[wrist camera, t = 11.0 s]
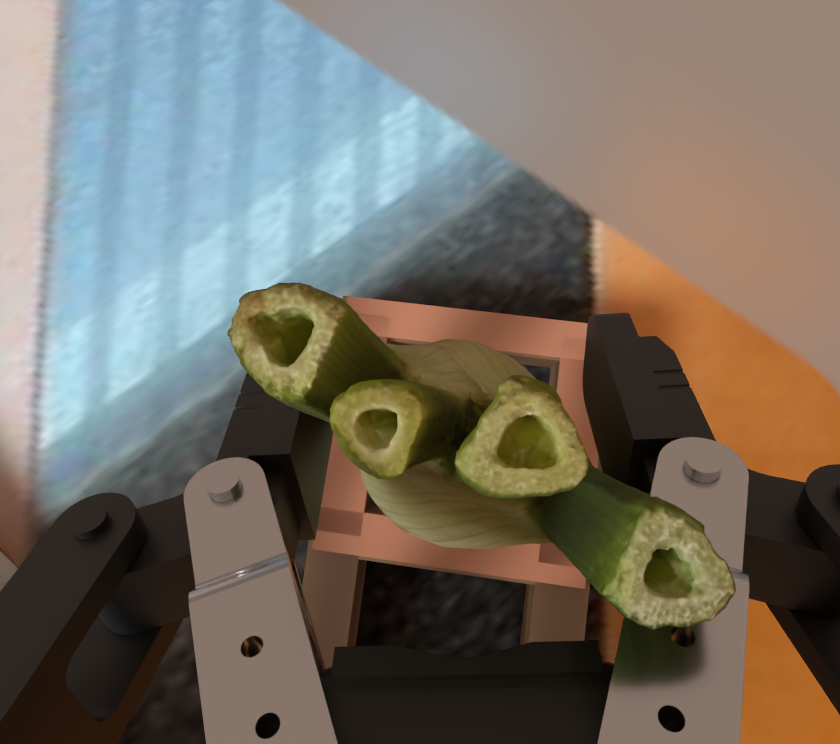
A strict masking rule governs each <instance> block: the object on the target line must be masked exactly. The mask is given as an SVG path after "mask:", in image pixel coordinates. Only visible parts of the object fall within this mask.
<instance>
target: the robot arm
mask: <svg viewBox="0 0 840 744" xmlns="http://www.w3.org/2000/svg"><path fill="white" fill-rule="evenodd" d="M682 370H683V369H682V367H681V365H680V363H679V361H678V359H677V356H676V354H675V352H674V351H673V350H672V349H671V348H669V347H668V346H667V345H666V344H665V343H664V342H662V341H661V340H660V339H659V338H658V337H657V336H649V337H639V336H638V334H637V331H636V329H635V327H634V324H633V322H632V319H631V317H630V315H629V314H628V313H616V314H598V315H590V316H589V319H588V325H587V335H586V345H585V355H584V366H583V396H584V402H585V407H586V410H587V414H588V418H589V422H590V425H591V429H592V433H593V437H594V441H595V444H596V448H597V452H598V456H599V460H600V463H601V467H602V471H603V473H604V474H607V475H608V476H610V477H612V478H614V479H616V480H618V481H620V482H622V483H623V484H626V485H628V486H630V487H633V488H637V489H638V490H639V491H642V492H645V493H647V494H649V495H651V496H652V497H655V496H656V497H659V498H661V499H662V500H665V501H667V502H669V503H671V504H674V505H676V506H677V507H679V508H681V509H682V510H684V511H685V512H686V513H688V514H689V515H691V516H692V517H694V518H695V519H696V520H698V521H699V522H701V523H702V524H703V525H704V527H705V529H704V532H705V535H706V537H707V538H708V539H709V541H710V542H711V544H712V546H713V549H714V550H715V551H716V552H717V554H718V555H719V556H720V557H721V558H723V559H724V560H725V561H726V562H727V563H728V566H729V569H730V571H731V573H732V577H733V579H734V582H735V586H736V592H735V594H734V595H733V597H732V598H731V599H730V601H729V603H728V605H727V607H726V608H725V609H724V610H723V611H721V612H720V613H719V614H718V615H717V616H716V617H715V618H714V619H713V620H711V621H705V622H702V623H699V624H695V625H692V626H690V627H675V626H669V625H668V626H664V627H661V628H658V629H654V630H653V629H649V628H647V627H645V626H642V625H639V624H638V623H636V622H635V621H633V620H630V619H628V618H626V617H625V616H624V621H623V625H622V630H621V635H620V639H619V644H618V649H617V654H616V658H615V663H614V664H613V663H609V662H605V661H601V656H600V652H599V647H598V642H597V640H588V641H548V642H529V643H526V644H522V645H519V646H515V647H512V648H508V649H505V650H501V651H498V652H494V653H491V654H487V655H484V656H481V657H477V658H474V659H469V660H459V659H454V658H450V657H446V656H442V655H437V654H433V653H429V652H425V651H420V650H416V649H412V648H408V647H403V646H399V645H387V646H347V647H335V648H334V656H333V664H332V667H330V668H327V669H326V667H325V664H324V661H323V658H322V654H321V651H320V648H319V644H318V641H317V638H316V634H315V631H314V627H313V624H312V620H311V617H310V613H309V610H308V606H307V603H306V599H305V596H304V592H303V589H302V585H301V582H300V578H299V575H298V571H297V568H296V565H295V562H294V559H295V554H296V549H297V544H298V540H315V538H316V532H317V527H318V521H319V515H320V509H321V503H322V497H323V491H324V485H325V479H326V474H327V468H328V462H329V456H330V450H331V444H332V438H333V431H332V428H331V423H329V422H326V421H324V420H322V419H319V418H317V417H314V416H312V415H309V414H306V413H303V412H301V411H299V410H297V409H295V408H293V407H290V406H287V405H286V404H284V403H283V402H281V401H279V400H277V399H276V398H274V397H272V396H270V395H268V394H266V393H265V391H264V389H263V388H262V387H261V386H260V385H259V384H258V383H257V382H256V381H255V380H254V379H253V377H251V376H250V375H249V374H248V373H247V374H246V377H245V380H244V383H243V386H242V388H241V395H239V397H238V400H237V403H236V405H235V407H236V409H235V410H234V411H233V414H232V417H231V420H230V423H229V425H228V428H227V431H226V434H225V437H224V440H223V443H222V445H221V448H220V451H219V454H218V457H217V460H216V462H213V463H211V464H209V465H207V466H205V467H204V468H202V469H201V470H200V471H198V472H197V473H196V474H195V475H194V476H193V477H192V478H191V480H190V481H189V483H188V484H187V486H186V489H185V492H184V494H181V495H179V496H177V497H174V498H171V499H168V500H165V501H161V502H158V503H154V504H151V505H148V506H144V507H141V508H138V509H136V507H135V506H134V504H133V502H132V501H131V500H130V499H129V498H128V497H126V496H124V495H122V494H118V493H102V494H97V495H93V496H90V497H87V498H85V499H83V500H81V501H79V502H77V503H76V504H74V505H72V506H71V507H70V508H68V509H67V510H66V511H65V512H64V513H62V514H61V515H60V516H59V518H58V519H57V520H56V521H55V522H54V524H53V525H52V526H51V527H50V529H49V530H48V531H47V533H46V534H45V535H44V536H43V538H42V539H41V540H40V541H39V543H38V544H37V545H36V547H35V548H34V549H33V550H32V552H31V553H30V554H29V555H28V557H27V558H26V559H25V561H24V562H23V563H22V564H21V566H20V567H19V568H18V569H17V571H16V572H15V573H14V575H13V576H12V577H11V578H10V580H9V581H8V582H7V583H6V585H5V586H4V587H3V589H2V590H1V591H0V744H117V743H118V741H119V739H120V737H121V735H122V734H123V732H124V730H125V728H126V726H127V724H128V722H129V720H130V718H131V717H132V715H133V713H134V711H135V709H136V707H137V705H138V703H139V701H140V700H141V698H142V696H143V694H144V692H145V690H146V688H147V686H148V684H149V683H150V681H151V679H152V677H153V675H154V673H155V671H156V669H157V667H158V666H159V664H160V662H161V660H162V658H163V656H164V654H165V652H166V650H167V649H168V647H169V645H170V643H171V641H172V639H173V637H174V635H175V633H176V632H177V630H178V628H179V626H180V624H181V622H182V620H183V618H186V617H189V616H190V618H191V626H192V634H193V642H194V650H195V658H196V666H197V674H198V682H199V690H200V698H201V706H202V714H203V722H204V730H205V738H206V744H740V733H741V716H742V700H743V683H744V667H745V651H746V634H747V618H748V601H749V598H750V599H754V600H758V601H762V602H765V603H766V604H767V606H768V607H769V609H770V610H771V612H772V613H773V615H774V616H775V618H776V619H777V621H778V622H779V624H780V625H781V627H782V628H783V630H784V631H785V633H786V634H787V636H788V637H789V639H790V641H791V642H792V644H793V645H794V647H795V648H796V650H797V651H798V653H799V654H800V656H801V657H802V659H803V660H804V662H805V663H806V665H807V666H808V668H809V669H810V671H811V672H812V674H813V675H814V677H815V678H816V680H817V681H818V683H819V684H820V686H821V687H822V689H823V690H824V692H825V693H826V695H827V696H828V698H829V699H830V701H831V702H832V704H833V705H834V707H835V708H836V710H837V711H838V713H839V714H840V465H827V466H823V467H820V468H818V469H816V470H814V471H813V472H812V473H811V474H810V475H809V477H808V478H807V480H806V483H804V482H799V481H794V480H789V479H784V478H779V477H774V476H769V475H765V474H761V473H758V472H755V471H752V470H750V469H748V468H747V466H746V465H745V463H744V461H743V460H742V459H741V457H740V456H739V455H738V454H737V453H735V452H734V451H733V450H731V449H730V448H729V447H727V446H725V445H723V444H721V443H719V442H716V440H715V438H714V436H713V434H712V432H711V430H710V427H709V425H708V423H707V421H706V419H705V417H704V414H703V412H702V410H701V408H700V406H699V404H698V402H697V399H696V397H695V395H694V393H693V391H692V389H691V388H690V387H689V382H688V380H687V378H686V376H685V374H684V373H683V372H682Z"/></svg>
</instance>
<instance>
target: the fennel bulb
mask: <svg viewBox="0 0 840 744" xmlns="http://www.w3.org/2000/svg"><path fill="white" fill-rule="evenodd" d="M239 302H240V305H239V307H238V309H237V311H236V313H235V315H234V316H233V318H232V326H231V328H230V329H229V331H228V336H229V337H230V340H231V344H232V346H233V347H234V349H235V352H236V354H237V355H238V357H239V359H240V363H241V365H242V366H243V367H244V369H245V370H246V371H247V372H248V374H249V375H250V376H251V377H253V379H254V380H255V381H256V382H257V383H258V384H259V385H260V386H261V387H262V388H263V389H264V391H265V393H266V394H268V395H270V396H272V397H274V398H276V399H277V400H279V401H281V402H283V403H284V404H286V405H287V406H290V407H293V408H295V409H297V410H299V411H301V412H303V413H306V414H309V415H312V416H314V417H317V418H319V419H322V420H324V421H326V422H329V423H331V428H332V431H333V432H334V434H335V437H336V439H337V441H338V444H339V446H340V447H341V449H342V451H343V452H344V453H345V454H346V456H347V457H348V458H349V460H350V461H351V462H352V463H353V464H354V465H355V466H357V467H358V468H359V469H360V472H361V477H362V480H363V484H364V486H365V487H366V489H367V491H368V493H369V495H370V496H371V498H372V500H373V501H374V502H375V503H376V505H377V506H378V507H379V508H380V509H381V510H382V512H383V513H384V514H385V515H386V516H387V517H388V518H389V519H390V521H391V522H392V523H394V524H395V525H396V526H397V527H399V528H400V529H401V530H403V531H404V532H406V533H408V534H410V535H413V536H415V537H418V538H420V539H423V540H425V541H427V542H431V543H433V544H436V545H439V546H443V547H450V548H462V549H467V548H470V549H491V548H499V547H507V546H513V545H521V544H549V543H553V544H554V545H556V546H557V547H558V549H559V550H560V551H562V552H563V553H564V554H565V556H566V557H567V558H568V559H569V560H570V561H571V563H572V564H573V565H574V566H575V567H576V568H577V569H578V570H579V571H580V572H581V573H582V575H583V576H584V577H585V578H586V579H587V580H588V581H589V582H590V583H591V584H592V585H593V587H594V588H595V589H596V590H597V591H598V592H599V594H600V595H602V596H603V597H605V598H606V599H607V600H608V601H609V602H610V603H612V605H613V606H614V607H616V608H617V609H618V610H619V612H620V613H621V614H622V615H623V616H625V617H626V618H628V619H630V620H633V621H635V622H636V623H638V624H639V625H642V626H645V627H647V628H649V629H653V630H654V629H658V628H661V627H664V626H668V625H669V626H675V627H690V626H692V625H695V624H699V623H702V622H705V621H711V620H713V619H714V618H715V617H716V616H717V615H718V614H719V613H720V612H721V611H723V610H724V609H725V608H726V607H727V605H728V603H729V601H730V599H731V598H732V597H733V595H734V594H735V592H736V586H735V582H734V579H733V577H732V573H731V571H730V569H729V566H728V563H727V562H726V561H725V560H724V559H723V558H721V557H720V556H719V555H718V554H717V552H716V551H715V550H714V549H713V546H712V544H711V542H710V541H709V539H708V538H707V537H706V535H705V532H704V529H705V527H704V525H703V524H702V523H701V522H699V521H698V520H696V519H695V518H694V517H692V516H691V515H689V514H688V513H686V512H685V511H684V510H682V509H681V508H679V507H677V506H676V505H674V504H671V503H669V502H667V501H665V500H662V499H661V498H659V497H656V496H655V497H652V496H651V495H649V494H647V493H645V492H642V491H639V490H638V489H637V488H633V487H630V486H628V485H626V484H623V483H622V482H620V481H618V480H616V479H614V478H612V477H610V476H608V475H607V474H604V473H602V472H601V471H600V470H598V469H597V468H595V467H594V466H593V465H592V463H591V462H590V460H589V458H588V455H587V452H586V450H585V448H584V445H583V443H582V441H581V439H580V437H579V435H578V432H577V429H576V426H575V424H574V423H573V421H572V420H571V418H570V416H569V414H568V412H567V411H566V410H565V409H564V407H563V405H562V401H561V398H560V397H559V395H558V393H557V392H556V390H555V389H554V388H553V387H551V386H550V385H549V384H547V383H544V382H542V381H539V380H536V379H535V377H534V376H532V374H531V373H530V372H529V371H528V370H527V369H526V368H525V367H524V366H522V365H520V364H519V363H518V362H517V361H515V360H514V359H513V358H511V357H509V356H508V355H506V354H504V353H502V352H499V351H497V350H494V349H492V348H490V347H488V346H486V345H484V344H481V343H478V342H472V341H467V340H457V339H444V340H439V341H435V342H432V343H430V344H425V345H395V344H385V343H384V342H383V341H382V340H380V338H379V337H378V336H377V335H376V334H375V333H374V332H373V331H372V330H371V329H369V327H368V326H367V325H366V324H365V323H364V322H363V321H362V320H361V319H360V317H359V315H358V314H357V312H356V311H354V310H353V309H352V308H351V306H350V305H349V304H347V303H346V302H345V301H344V300H343V299H341V298H338V297H336V296H334V295H331V294H329V293H326V292H324V291H321V290H318V289H315V288H313V287H312V286H310V285H306V284H302V283H278V284H276V285H273V286H271V287H269V288H267V289H262V290H256V291H251V292H248V293H246V294H244V295H243V296H242V297H241V298H240V300H239Z"/></svg>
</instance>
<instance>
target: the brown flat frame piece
mask: <svg viewBox="0 0 840 744" xmlns="http://www.w3.org/2000/svg"><path fill="white" fill-rule="evenodd" d="M343 300H344V301H345V302H346V303H347V304H349V305H350V306H351V308H352V309H353V310H354V311H356V312H357V314H358V315H359V317H360V319H361V320H362V321H363V322H364V323H365V324H366V325H367V326H368V327H369V329H371V330H372V331H373V332H374V333H375V334H376V335H377V336H378V337H379V338H380V340H382V341H383V342H384V343H385V344H395V345H425V344H430V343H432V342H435V341H439V340H444V339H457V340H467V341H472V342H478V343H481V344H484V345H486V346H488V347H490V348H492V349H494V350H497V351H499V352H502V353H504V354H506V355H508V356H509V357H511V358H513V359H514V360H515V361H517V362H518V363H519V364H522V365H531V366H539V367H547V368H551V369H550V378H549V385H550V386H551V387H553V388H554V389H555V390H556V392H557V393H558V395H559V397H560V398H561V401H562V405H563V407H564V409H565V410H566V411H567V412H568V414H569V416H570V418H571V420H572V421H573V423H574V424H575V426H576V429H577V432H578V435H579V437H580V439H581V441H582V443H583V445H584V448H585V450H586V452H587V455H588V458H589V460H590V462H591V463H592V465H593V466H594V467H595V468H597V469H598V470H600V471H601V472H602V467H601V463H600V460H599V456H598V452H597V448H596V444H595V441H594V437H593V433H592V429H591V425H590V422H589V418H588V414H587V410H586V407H585V402H584V396H583V366H584V355H585V345H586V335H587V325H588V323H580V322H572V321H563V320H554V319H545V318H536V317H528V316H519V315H510V314H501V313H492V312H483V311H475V310H466V309H457V308H448V307H439V306H431V305H422V304H413V303H404V302H395V301H387V300H378V299H369V298H360V297H351V296H343ZM367 561H374V562H381V563H388V564H395V565H401V566H408V567H415V568H422V569H429V570H435V571H442V572H449V573H456V574H463V575H470V576H476V577H483V578H490V579H497V580H504V581H511V582H517V583H524V584H526V593H525V602H524V611H523V620H522V629H521V638H520V645H522V644H526V643H529V642H548V641H584V639H585V629H586V619H587V610H588V600H589V590H590V582H589V581H588V580H587V579H586V578H585V577H584V576H583V575H582V573H581V572H580V571H579V570H578V569H577V568H576V567H575V566H574V565H573V564H572V563H571V561H570V560H569V559H568V558H567V557H566V556H565V554H564V553H563V552H562V551H560V550H559V549H558V547H557V546H556V545H554V544H553V543H549V544H521V545H513V546H507V547H499V548H491V549H470V548H467V549H462V548H450V547H443V546H439V545H436V544H433V543H431V542H427V541H425V540H423V539H420V538H418V537H415V536H413V535H410V534H408V533H406V532H404V531H403V530H401V529H400V528H399V527H397V526H396V525H395V524H394V523H392V522H391V521H390V519H389V518H388V517H387V516H386V515H385V514H384V513H383V512H382V510H381V509H380V508H379V507H378V506H377V505H375V502H374V501H373V500H372V498H371V496H370V495H369V493H368V491H367V489H366V487H365V486H364V484H363V480H362V477H361V472H360V469H359V468H358V467H357V466H355V465H354V464H353V463H352V462H351V461H350V460H349V458H348V457H347V456H346V454H345V453H344V452H343V451H342V449H341V447H340V446H339V444H338V441H337V439H336V437H335V434H334V432H333V438H332V444H331V450H330V456H329V462H328V468H327V474H326V479H325V485H324V491H323V497H322V503H321V509H320V515H319V521H318V527H317V532H316V538H315V540H309V542H308V549H307V556H306V563H305V570H304V578H303V585H302V589H303V592H304V596H305V599H306V603H307V606H308V610H309V613H310V617H311V620H312V624H313V627H314V631H315V634H316V638H317V641H318V644H319V648H320V651H321V654H322V658H323V661H324V664H325V667H326V669H327V668H330V667H332V664H333V656H334V648H335V647H347V646H356V640H357V633H358V625H359V618H360V610H361V603H362V595H363V588H364V580H365V573H366V565H367Z"/></svg>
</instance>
